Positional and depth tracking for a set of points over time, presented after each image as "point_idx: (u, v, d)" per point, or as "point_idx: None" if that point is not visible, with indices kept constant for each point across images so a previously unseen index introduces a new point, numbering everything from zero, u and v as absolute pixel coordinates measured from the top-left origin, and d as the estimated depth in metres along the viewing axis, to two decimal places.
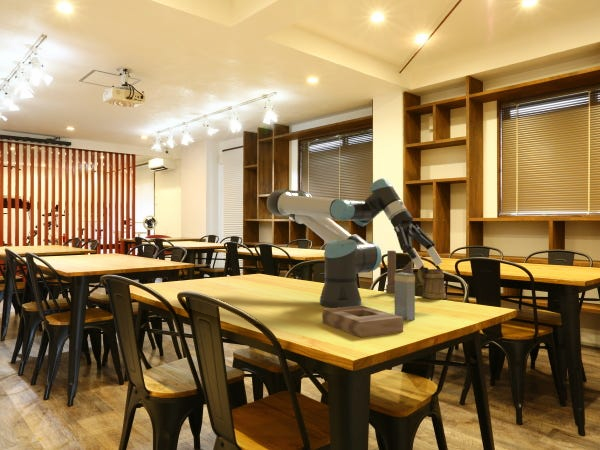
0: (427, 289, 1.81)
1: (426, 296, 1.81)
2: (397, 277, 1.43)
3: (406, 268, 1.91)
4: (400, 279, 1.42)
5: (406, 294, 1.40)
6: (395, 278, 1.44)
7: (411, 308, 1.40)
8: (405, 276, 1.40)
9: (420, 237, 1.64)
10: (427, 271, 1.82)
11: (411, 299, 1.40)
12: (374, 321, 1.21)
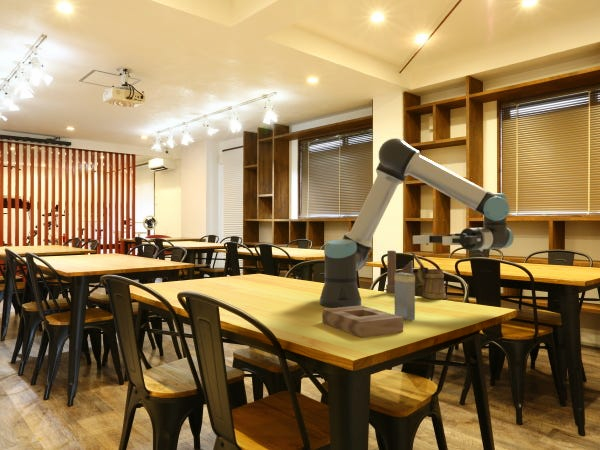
0: (427, 289, 1.81)
1: (426, 296, 1.81)
2: (397, 277, 1.43)
3: (406, 268, 1.91)
4: (400, 279, 1.42)
5: (406, 294, 1.40)
6: (395, 278, 1.44)
7: (411, 308, 1.40)
8: (405, 276, 1.40)
9: None
10: (427, 271, 1.82)
11: (411, 299, 1.40)
12: (374, 321, 1.21)
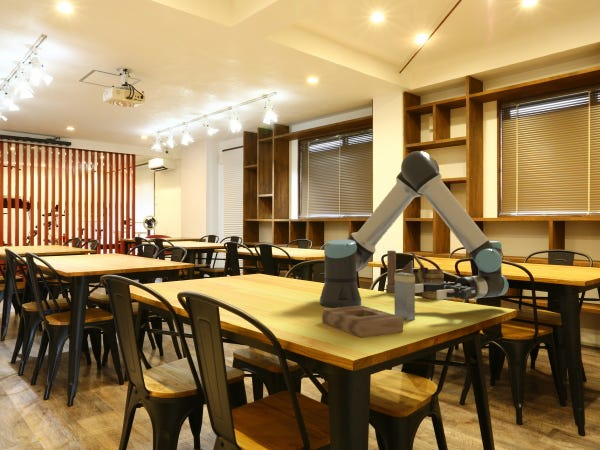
0: None
1: (426, 296, 1.81)
2: (397, 277, 1.43)
3: (406, 268, 1.91)
4: (400, 279, 1.42)
5: (406, 294, 1.40)
6: (395, 278, 1.44)
7: (411, 308, 1.40)
8: (405, 276, 1.40)
9: (439, 290, 1.54)
10: (427, 271, 1.82)
11: (411, 299, 1.40)
12: (374, 321, 1.21)
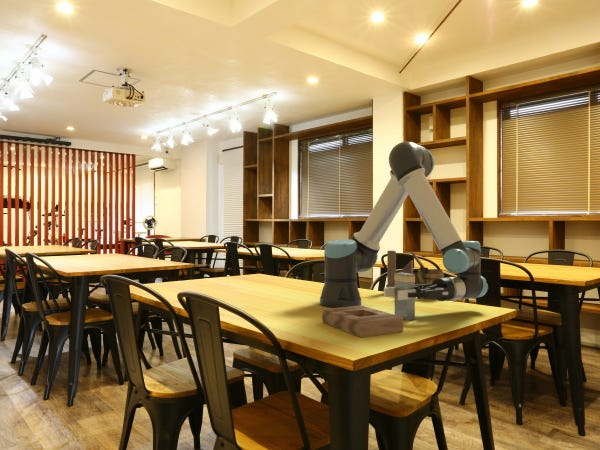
0: None
1: None
2: (397, 277, 1.43)
3: (406, 268, 1.91)
4: (400, 279, 1.42)
5: None
6: (395, 278, 1.44)
7: (411, 308, 1.40)
8: (405, 276, 1.40)
9: None
10: (427, 271, 1.82)
11: (411, 299, 1.40)
12: (374, 321, 1.21)
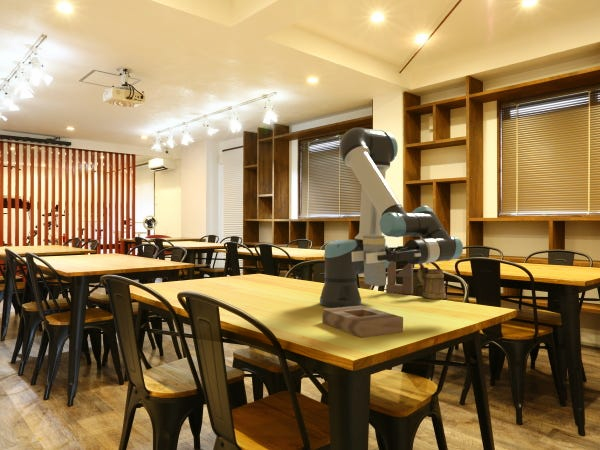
0: (427, 289, 1.81)
1: (426, 296, 1.81)
2: (366, 240, 1.31)
3: (406, 268, 1.91)
4: (369, 242, 1.30)
5: None
6: (364, 241, 1.32)
7: (382, 273, 1.29)
8: (374, 238, 1.28)
9: None
10: (427, 271, 1.82)
11: (381, 263, 1.29)
12: (374, 321, 1.21)
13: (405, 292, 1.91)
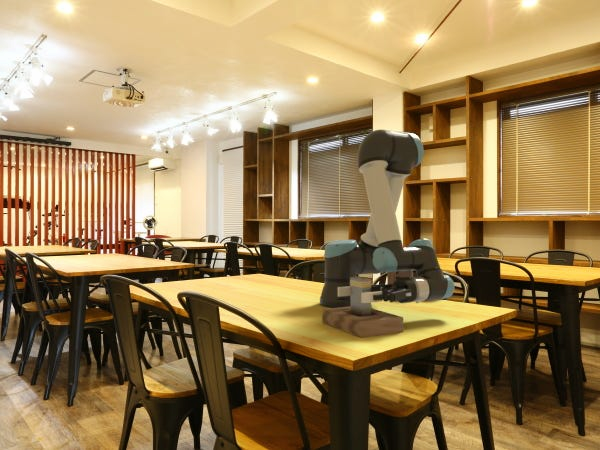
0: None
1: None
2: (352, 282, 1.31)
3: None
4: (355, 284, 1.30)
5: None
6: (351, 283, 1.32)
7: None
8: (360, 281, 1.28)
9: None
10: None
11: (367, 306, 1.28)
12: (374, 321, 1.21)
13: None
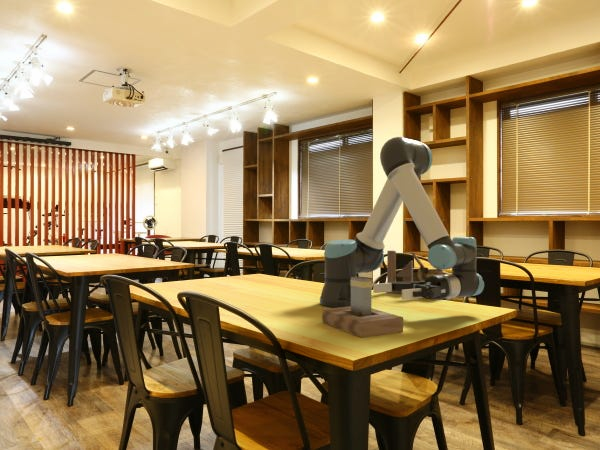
0: None
1: None
2: (353, 282, 1.32)
3: (406, 268, 1.91)
4: (356, 284, 1.30)
5: (361, 301, 1.28)
6: (351, 283, 1.32)
7: None
8: (361, 281, 1.28)
9: None
10: (427, 271, 1.82)
11: (367, 306, 1.28)
12: (374, 321, 1.21)
13: None
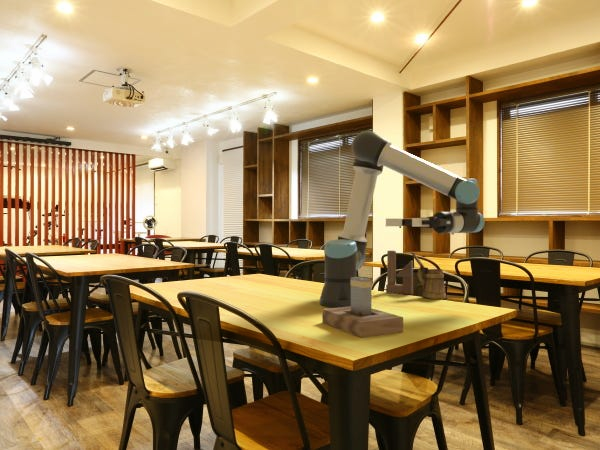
0: (427, 289, 1.81)
1: (426, 296, 1.81)
2: (353, 282, 1.32)
3: (406, 268, 1.91)
4: (356, 284, 1.30)
5: (361, 300, 1.28)
6: (351, 283, 1.32)
7: None
8: (361, 281, 1.28)
9: None
10: (427, 271, 1.82)
11: (367, 306, 1.28)
12: (374, 321, 1.21)
13: (405, 292, 1.91)
